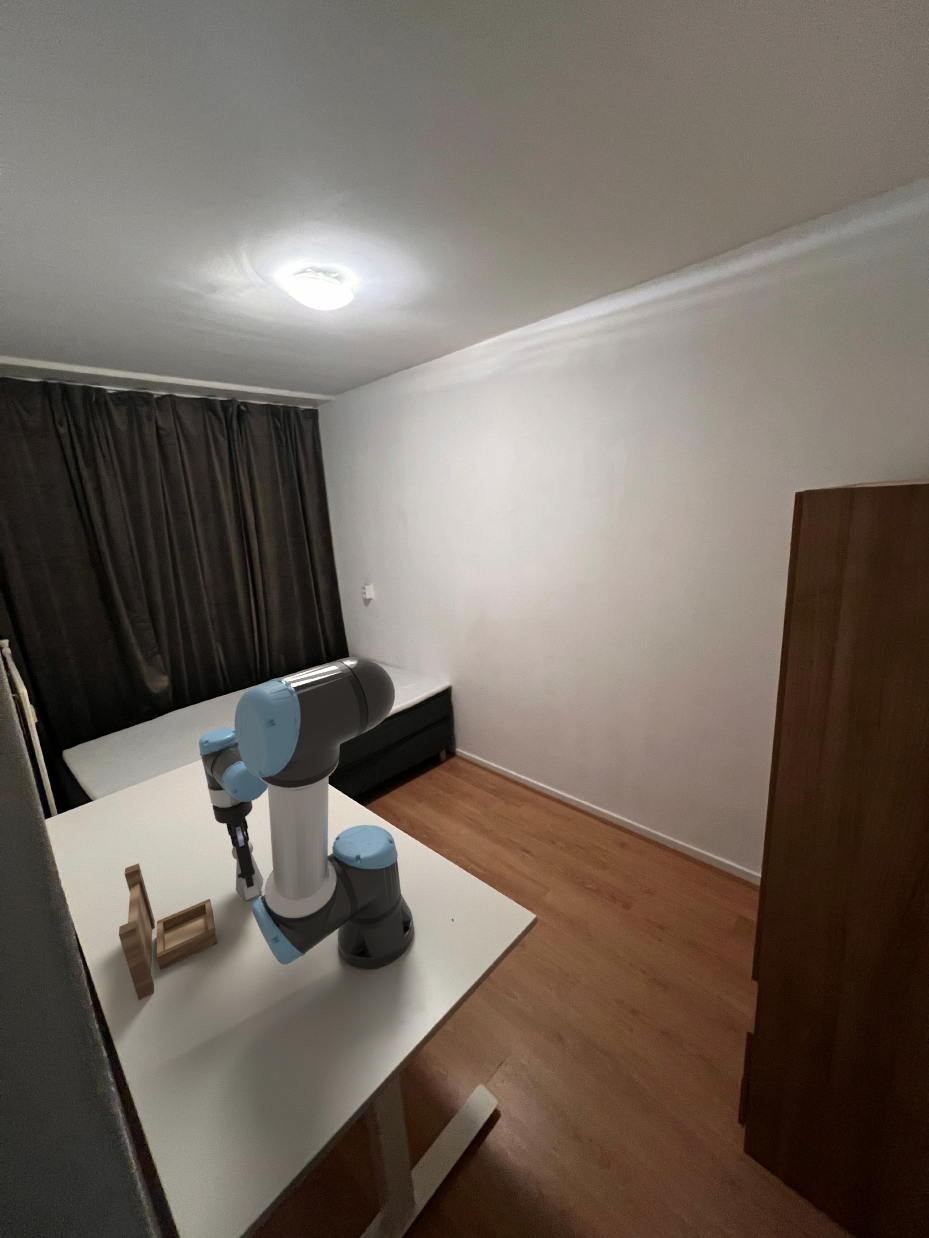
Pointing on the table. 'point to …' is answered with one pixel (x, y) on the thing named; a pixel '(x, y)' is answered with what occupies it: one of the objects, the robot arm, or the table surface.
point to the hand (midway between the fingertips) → (250, 886)
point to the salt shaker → (238, 880)
